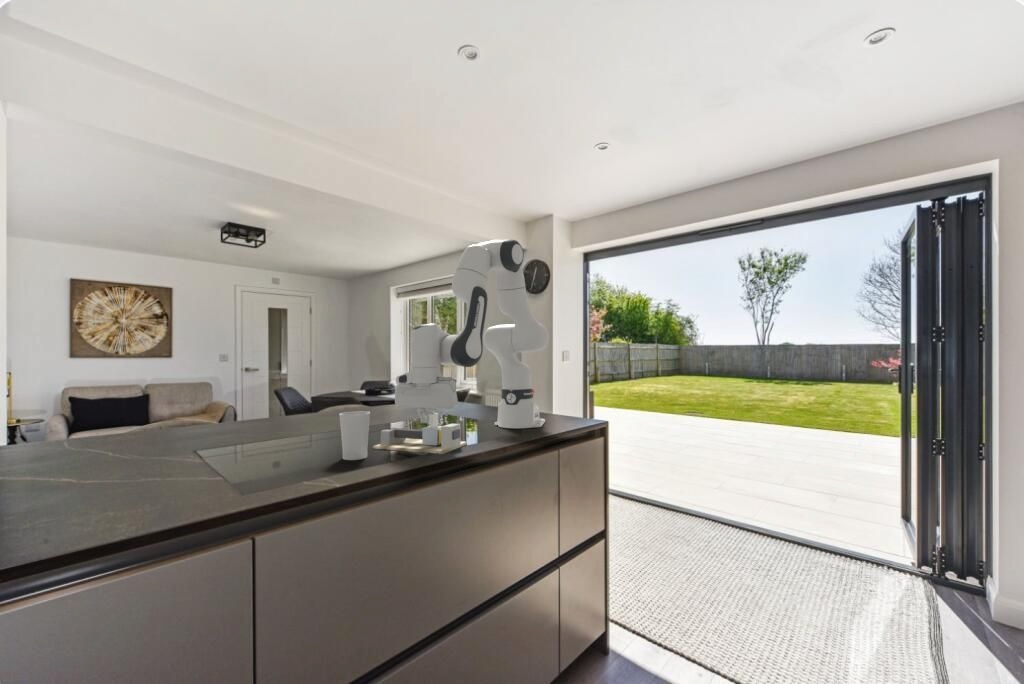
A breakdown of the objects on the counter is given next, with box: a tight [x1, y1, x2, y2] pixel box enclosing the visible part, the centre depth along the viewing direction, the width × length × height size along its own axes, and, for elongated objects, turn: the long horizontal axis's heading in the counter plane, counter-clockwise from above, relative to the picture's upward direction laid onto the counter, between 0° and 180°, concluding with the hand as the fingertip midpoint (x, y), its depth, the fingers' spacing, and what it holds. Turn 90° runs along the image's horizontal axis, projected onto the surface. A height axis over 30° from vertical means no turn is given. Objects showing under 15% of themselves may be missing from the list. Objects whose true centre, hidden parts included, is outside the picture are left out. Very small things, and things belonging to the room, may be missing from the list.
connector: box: [441, 423, 462, 448], centre depth 130 cm, size 4×6×6 cm, turn 158°
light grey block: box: [380, 426, 406, 445], centre depth 138 cm, size 3×8×4 cm, turn 158°
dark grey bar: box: [389, 427, 441, 443], centre depth 135 cm, size 20×4×4 cm, turn 68°
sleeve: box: [421, 412, 443, 445], centre depth 133 cm, size 5×5×9 cm
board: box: [372, 438, 468, 455], centre depth 134 cm, size 24×14×1 cm, turn 68°
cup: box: [339, 410, 371, 461], centre depth 121 cm, size 8×8×12 cm
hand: (426, 423), depth 134 cm, fingers closed
